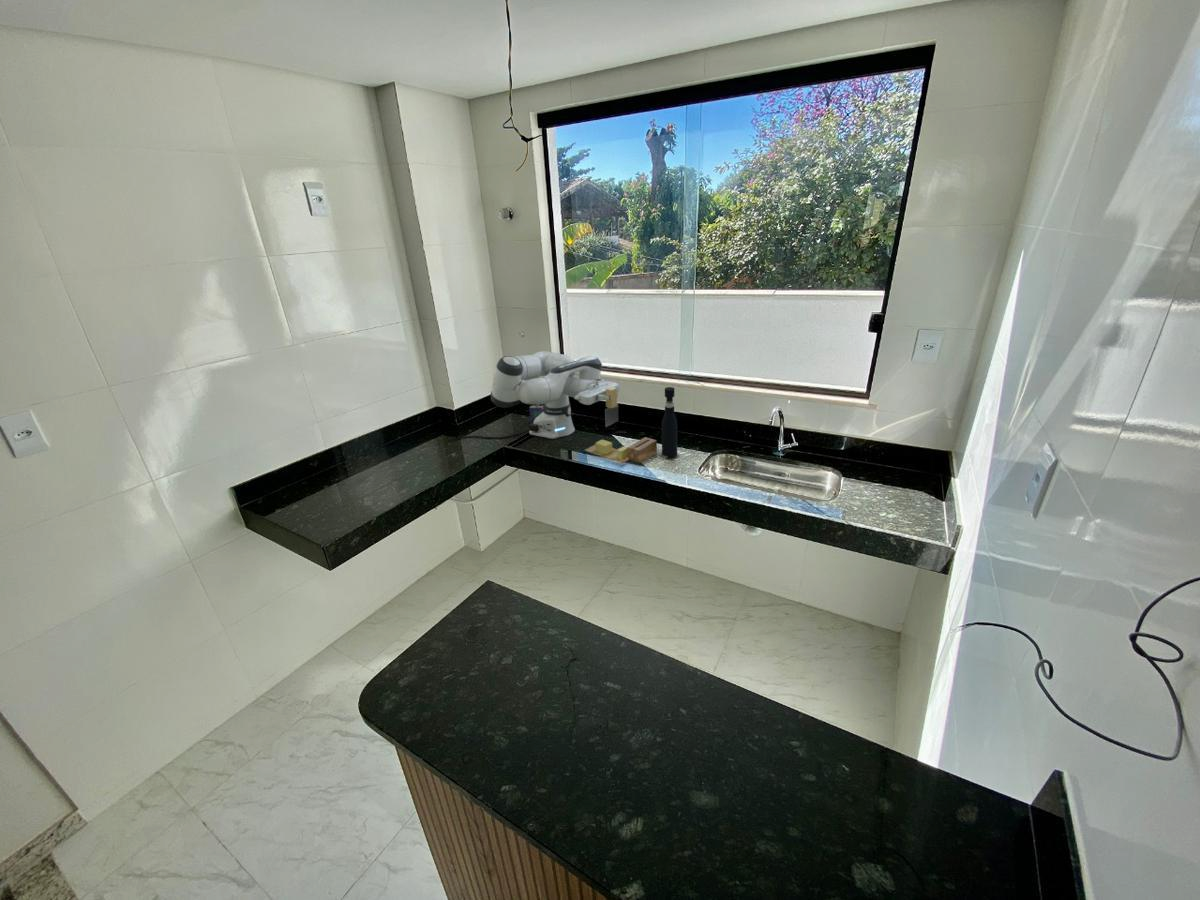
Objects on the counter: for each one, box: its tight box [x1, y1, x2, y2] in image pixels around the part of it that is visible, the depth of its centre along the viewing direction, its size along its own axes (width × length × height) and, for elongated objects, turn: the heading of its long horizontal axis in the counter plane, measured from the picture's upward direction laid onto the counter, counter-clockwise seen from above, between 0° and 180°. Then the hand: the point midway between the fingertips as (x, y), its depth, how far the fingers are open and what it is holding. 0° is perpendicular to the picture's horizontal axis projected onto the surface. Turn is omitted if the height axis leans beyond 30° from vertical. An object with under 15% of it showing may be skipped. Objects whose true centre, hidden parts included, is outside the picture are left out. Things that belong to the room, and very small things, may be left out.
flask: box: [528, 404, 544, 424], centre depth 247 cm, size 9×3×11 cm, turn 87°
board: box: [584, 444, 630, 464], centre depth 211 cm, size 22×9×1 cm, turn 48°
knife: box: [604, 387, 619, 428], centre depth 202 cm, size 3×8×16 cm, turn 138°
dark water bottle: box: [661, 386, 678, 460], centre depth 200 cm, size 6×6×30 cm
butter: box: [594, 439, 614, 454], centre depth 212 cm, size 6×4×4 cm
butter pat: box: [617, 445, 629, 460], centre depth 205 cm, size 2×4×4 cm, turn 138°
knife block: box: [628, 436, 658, 464], centre depth 205 cm, size 6×12×7 cm, turn 138°
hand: (613, 396), depth 199 cm, fingers closed on knife, 3 cm apart
